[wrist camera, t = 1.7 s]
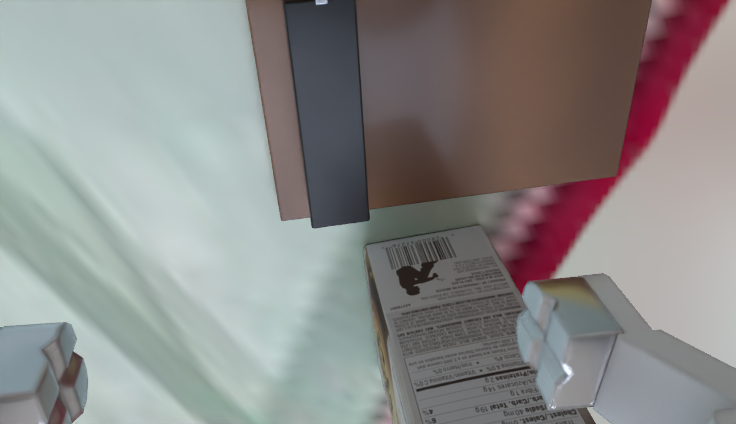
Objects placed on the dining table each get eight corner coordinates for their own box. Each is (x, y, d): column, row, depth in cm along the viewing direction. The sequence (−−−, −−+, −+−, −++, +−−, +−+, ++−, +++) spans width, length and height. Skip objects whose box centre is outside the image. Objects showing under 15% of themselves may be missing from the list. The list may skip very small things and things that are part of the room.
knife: (325, -310, 17) (339, -335, 15) (361, 192, 27) (373, 232, 24) (242, -306, 17) (240, -332, 14) (307, 199, 26) (313, 240, 24)
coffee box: (484, 347, 35) (627, 668, 22) (376, 368, 35) (455, 710, 21) (484, 219, 30) (672, 534, 17) (359, 242, 30) (447, 586, 16)
